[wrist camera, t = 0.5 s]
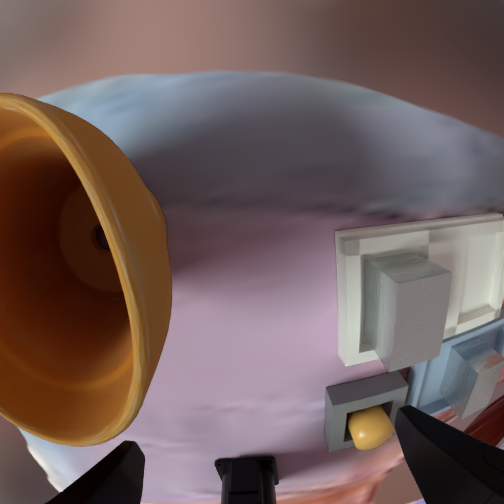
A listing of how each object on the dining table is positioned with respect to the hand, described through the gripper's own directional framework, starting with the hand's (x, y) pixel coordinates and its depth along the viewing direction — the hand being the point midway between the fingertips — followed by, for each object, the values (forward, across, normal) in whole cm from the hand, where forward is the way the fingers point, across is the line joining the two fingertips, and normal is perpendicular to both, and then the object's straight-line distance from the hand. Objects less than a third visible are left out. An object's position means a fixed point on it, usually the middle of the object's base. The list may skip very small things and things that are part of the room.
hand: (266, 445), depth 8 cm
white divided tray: (+13, -14, +1) cm, 19 cm away
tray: (+13, -20, +12) cm, 27 cm away
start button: (+12, -8, +13) cm, 19 cm away
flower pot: (+13, +9, -6) cm, 17 cm away
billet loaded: (+12, -10, +1) cm, 16 cm away
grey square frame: (+13, -8, +13) cm, 20 cm away
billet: (+13, -20, +12) cm, 26 cm away
